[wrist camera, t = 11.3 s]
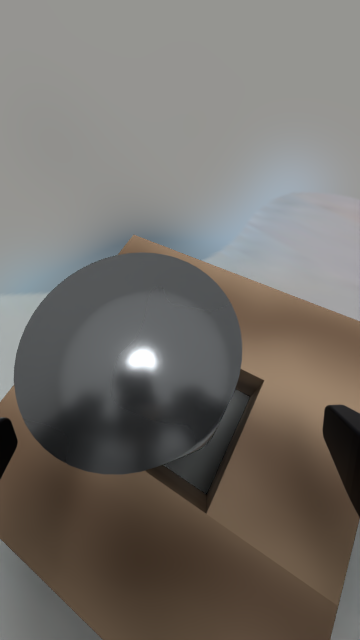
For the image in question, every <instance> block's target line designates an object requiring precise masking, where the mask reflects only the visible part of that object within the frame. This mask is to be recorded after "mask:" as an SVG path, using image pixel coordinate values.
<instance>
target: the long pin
mask: <svg viewBox="0 0 360 640" xmlns="http://www.w3.org/2000/svg"><path fill="white" fill-rule="evenodd" d="M241 363H242V338H241V330H240V326H239V322H238V319H237V316H236V313H235V311H234V309H233V306H232V304H231V303H230V301H229V299H228V298H227V296H226V294H225V293H224V292H223V290H222V289H221V288H220V287H219V285H218V284H217V283H216V282H215V281H214V280H213V279H212V278H211V277H210V276H208V275H207V274H206V273H204V272H203V271H202V270H200V269H199V268H197V267H195V266H194V265H192V264H190V263H188V262H186V261H183V260H181V259H178V258H175V257H172V256H168V255H163V254H157V253H142V252H140V253H127V254H121V255H116V256H112V257H108V258H105V259H102V260H99V261H97V262H94V263H92V264H90V265H88V266H86V267H84V268H82V269H80V270H78V271H77V272H75V273H74V274H72V275H70V276H69V277H68V278H66V279H65V280H64V281H62V282H61V283H60V284H59V285H58V286H57V287H55V288H54V289H53V290H52V291H51V292H50V293H49V294H48V295H47V296H46V298H45V299H44V300H43V301H42V302H41V303H40V305H39V306H38V308H37V309H36V310H35V312H34V313H33V315H32V317H31V318H30V320H29V322H28V324H27V326H26V328H25V330H24V332H23V335H22V337H21V340H20V343H19V346H18V350H17V354H16V360H15V366H14V387H15V396H16V400H17V404H18V407H19V411H20V413H21V415H22V418H23V420H24V422H25V424H26V426H27V428H28V429H29V431H30V432H31V434H32V435H33V437H34V438H35V439H36V440H37V441H38V442H39V443H40V445H41V446H42V447H43V448H44V449H45V450H47V451H48V452H49V453H50V454H52V455H53V456H54V457H56V458H57V459H59V460H61V461H63V462H64V463H66V464H68V465H70V466H72V467H75V468H78V469H81V470H84V471H87V472H93V473H99V474H114V475H123V474H129V473H136V472H142V471H145V470H148V469H152V468H155V467H158V466H161V465H163V464H166V463H168V462H171V461H173V460H176V459H178V458H180V457H183V456H185V455H188V454H190V453H193V452H195V451H198V450H200V449H201V448H203V447H204V446H205V445H207V444H208V442H209V441H210V440H211V439H212V437H213V435H214V433H215V431H216V429H217V427H218V425H219V423H220V421H221V419H222V416H223V414H224V412H225V410H226V408H227V406H228V404H229V402H230V400H231V398H232V396H233V393H234V391H235V388H236V385H237V382H238V379H239V375H240V369H241Z"/></svg>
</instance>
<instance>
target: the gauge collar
mask: <svg viewBox="0 0 360 640" xmlns="http://www.w3.org/2000/svg"><path fill="white" fill-rule="evenodd" d="M140 252H142V253H157V254H163V255H168V256H172V257H175V258H178V259H181V260H183V261H186V262H188V263H190V264H192V265H194V266H195V267H197V268H199V269H200V270H202V271H203V272H204V273H206V274H207V275H208V276H210V277H211V278H212V279H213V280H214V281H215V282H216V283H217V284H218V285H219V287H220V288H221V289H222V290H223V292H224V293H225V294H226V296H227V298H228V299H229V301H230V303H231V304H232V306H233V309H234V311H235V313H236V316H237V319H238V322H239V326H240V330H241V338H242V363H241V369H240V375H239V379H238V382H237V385H236V388H235V389H237V390H239V391H241V392H243V393H245V394H246V395H248V396H250V399H249V401H248V403H247V406H246V408H245V410H244V412H243V415H242V417H241V419H240V421H239V424H238V426H237V428H236V430H235V433H234V435H233V437H232V439H231V442H230V444H229V446H228V448H227V451H226V453H225V455H224V457H223V460H222V462H221V464H220V466H219V469H218V471H217V473H216V475H215V478H214V480H213V482H212V484H211V487H210V489H209V491H208V493H207V495H206V494H205V493H203V492H202V491H200V490H199V489H197V488H196V487H194V486H193V485H191V484H190V483H188V482H187V481H186V480H184V479H183V478H181V477H180V476H178V475H177V474H175V473H174V472H172V471H171V470H169V469H168V468H166V467H165V466H163V465H161V466H158V467H155V468H152V469H148V470H145V471H142V472H136V473H129V474H123V475H114V474H99V473H93V472H87V471H84V470H81V469H78V468H75V467H72V466H70V465H68V464H66V463H64V462H63V461H61V460H59V459H57V458H56V457H54V456H53V455H52V454H50V453H49V452H48V451H47V450H45V449H44V448H43V447H42V446H41V445H40V443H39V442H38V441H37V440H36V439H35V438H34V437H33V435H32V434H31V432H30V431H29V429H28V428H27V426H26V424H25V422H24V420H23V418H22V415H21V413H20V411H19V407H18V404H17V400H16V396H15V387H14V386H13V387H12V388H11V389H10V391H9V392H8V393H7V394H6V396H5V397H4V398H3V399H2V401H1V402H0V418H1V417H7V418H9V419H10V420H11V422H12V425H13V428H14V430H15V433H16V436H17V439H18V444H17V448H16V450H15V452H14V454H13V456H12V458H11V460H10V462H9V464H8V466H7V468H6V470H5V472H4V474H3V476H2V478H1V480H0V539H1V540H2V541H3V542H4V543H5V544H6V545H7V546H8V547H9V548H10V549H11V550H12V551H13V552H14V553H15V554H16V555H17V556H18V557H19V558H20V559H21V560H22V561H23V562H25V563H26V564H27V565H28V566H29V567H30V568H31V569H32V570H33V571H34V572H35V573H36V574H37V575H38V576H39V577H40V578H41V579H42V580H43V581H44V582H45V583H46V584H47V585H48V586H49V587H50V588H51V589H52V590H53V591H54V592H55V593H56V594H57V595H58V596H59V597H60V598H61V599H62V600H63V601H64V602H65V603H66V604H67V605H68V606H69V607H70V608H71V609H72V610H73V611H74V612H75V613H76V614H77V615H78V616H79V617H80V618H81V619H82V620H83V621H84V622H85V623H86V624H88V625H89V626H90V627H91V628H92V629H93V630H94V631H95V632H96V633H97V634H98V635H99V636H100V637H101V638H102V639H103V640H330V638H331V634H332V630H333V625H334V621H335V617H336V613H337V609H338V605H339V601H340V597H341V593H342V589H343V584H344V580H345V576H346V572H347V568H348V564H349V560H350V556H351V552H352V548H353V544H354V539H355V535H356V531H357V527H358V523H359V519H360V518H359V516H358V514H357V512H356V510H355V508H354V506H353V504H352V502H351V500H350V498H349V496H348V494H347V492H346V490H345V487H344V485H343V483H342V480H341V478H340V476H339V473H338V471H337V468H336V466H335V464H334V461H333V459H332V457H331V454H330V452H329V450H328V447H327V445H326V442H325V440H324V437H323V432H322V428H323V419H324V410H325V407H326V406H327V405H337V404H342V405H345V406H347V407H349V408H351V409H352V410H354V411H356V412H358V413H360V321H357V320H354V319H352V318H349V317H347V316H344V315H341V314H339V313H336V312H334V311H331V310H328V309H326V308H323V307H321V306H318V305H315V304H313V303H310V302H308V301H305V300H302V299H300V298H297V297H295V296H292V295H289V294H287V293H284V292H282V291H279V290H276V289H274V288H271V287H269V286H266V285H263V284H261V283H258V282H256V281H253V280H250V279H248V278H245V277H242V276H240V275H237V274H235V273H232V272H229V271H227V270H224V269H222V268H219V267H216V266H214V265H211V264H209V263H206V262H203V261H201V260H198V259H196V258H193V257H190V256H188V255H185V254H183V253H180V252H177V251H175V250H172V249H170V248H167V247H164V246H162V245H159V244H157V243H154V242H151V241H149V240H146V239H144V238H141V237H138V236H135V235H133V236H132V238H131V239H130V240H129V241H128V243H127V244H126V245H125V246H124V248H123V249H122V250H121V251H120V253H119V254H118V255H121V254H127V253H140Z"/></svg>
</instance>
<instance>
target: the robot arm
mask: <svg viewBox="0 0 360 640" xmlns="http://www.w3.org/2000/svg"><path fill="white" fill-rule="evenodd" d="M322 432H323V437H324V440H325V442H326V445H327V447H328V450H329V452H330V454H331V457H332V459H333V461H334V464H335V466H336V468H337V471H338V473H339V476H340V478H341V480H342V483H343V485H344V487H345V490H346V492H347V494H348V496H349V498H350V500H351V502H352V504H353V506H354V508H355V510H356V512H357V514H358V516H359V518H360V413H358V412H356V411H354V410H352V409H351V408H349V407H347V406H345V405H342V404H337V405H327V406H326V407H325V410H324V419H323V428H322ZM17 444H18V439H17V436H16V433H15V430H14V428H13V425H12V422H11V420H10V419H9V418H7V417H1V418H0V480H1V478H2V476H3V474H4V472H5V470H6V468H7V466H8V464H9V462H10V460H11V458H12V456H13V454H14V452H15V450H16V448H17Z"/></svg>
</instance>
